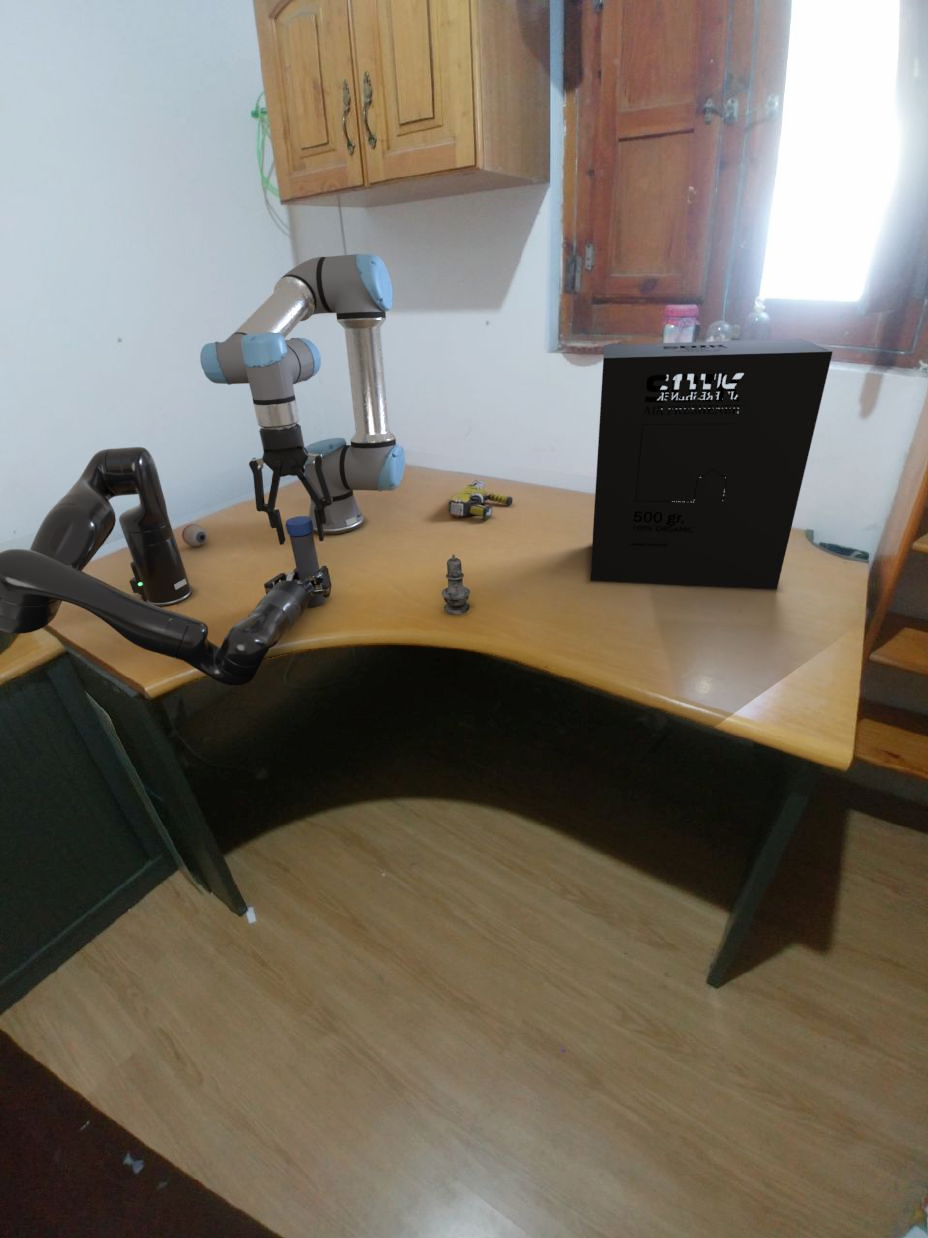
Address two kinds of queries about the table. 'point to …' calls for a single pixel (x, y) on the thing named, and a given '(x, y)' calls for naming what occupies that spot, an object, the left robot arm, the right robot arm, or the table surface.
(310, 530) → the lid
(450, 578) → the dark grey chess piece
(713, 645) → the table surface
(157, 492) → the left robot arm
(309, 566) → the dark gray cylinder
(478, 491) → the toy gun
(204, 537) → the eyeball
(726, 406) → the cardboard box
